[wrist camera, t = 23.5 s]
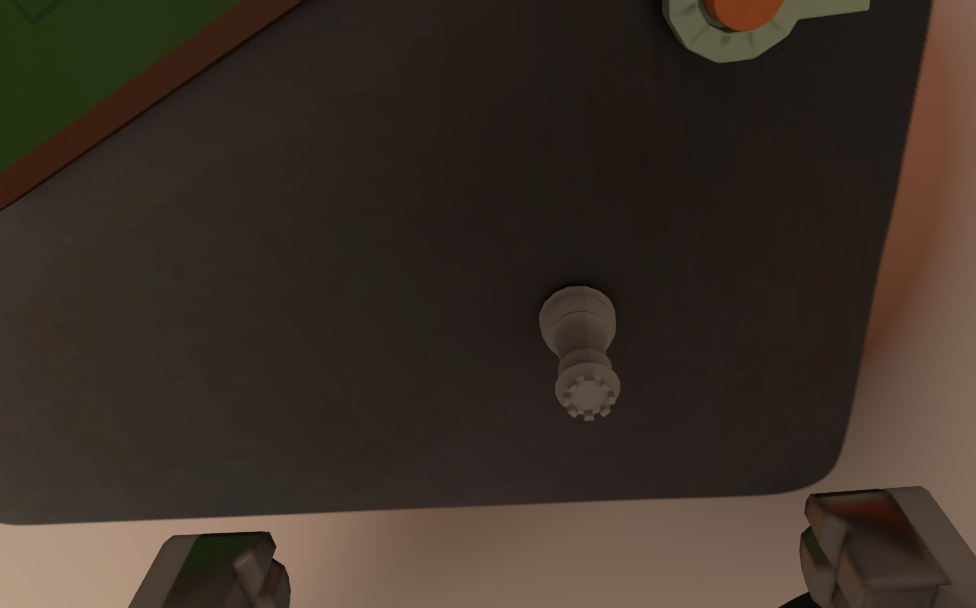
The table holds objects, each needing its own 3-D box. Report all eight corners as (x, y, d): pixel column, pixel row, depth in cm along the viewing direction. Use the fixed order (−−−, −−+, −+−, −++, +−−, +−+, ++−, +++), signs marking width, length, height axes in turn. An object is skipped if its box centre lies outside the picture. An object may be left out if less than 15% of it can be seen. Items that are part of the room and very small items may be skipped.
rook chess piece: (545, 276, 39) (552, 358, 32) (622, 286, 39) (645, 370, 32) (532, 340, 41) (536, 429, 34) (605, 350, 41) (623, 440, 34)
